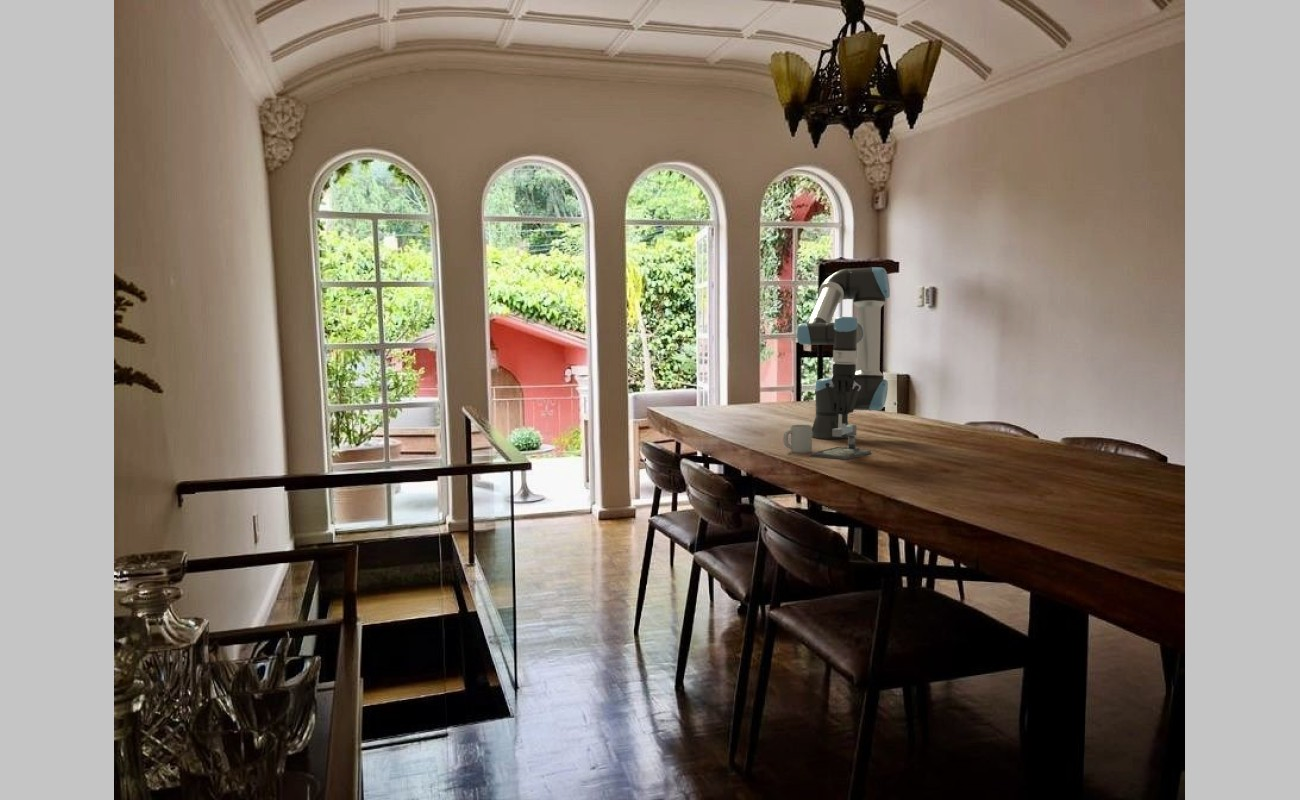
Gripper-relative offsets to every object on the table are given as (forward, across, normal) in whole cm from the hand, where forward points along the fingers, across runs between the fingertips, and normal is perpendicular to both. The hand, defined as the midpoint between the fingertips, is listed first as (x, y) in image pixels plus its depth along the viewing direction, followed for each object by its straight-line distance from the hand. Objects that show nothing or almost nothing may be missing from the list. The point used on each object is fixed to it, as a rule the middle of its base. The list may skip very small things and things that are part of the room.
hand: (841, 433), depth 271 cm
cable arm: (+1, +2, -1) cm, 3 cm away
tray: (+7, +1, -2) cm, 7 cm away
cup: (+8, -14, -5) cm, 17 cm away
